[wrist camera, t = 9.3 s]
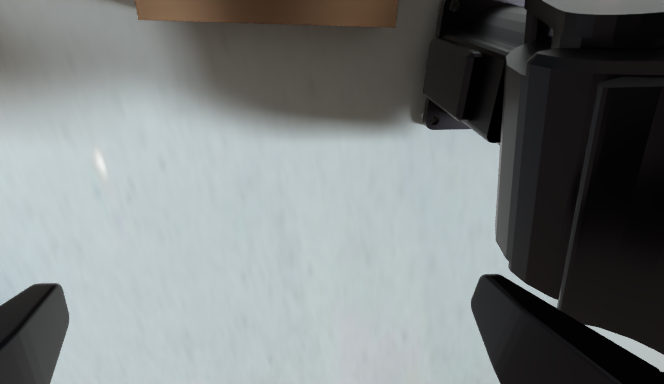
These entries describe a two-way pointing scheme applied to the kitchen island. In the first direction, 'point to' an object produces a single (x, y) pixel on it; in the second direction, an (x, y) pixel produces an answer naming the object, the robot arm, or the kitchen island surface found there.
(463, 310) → the kitchen island surface
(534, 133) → the robot arm
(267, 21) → the walnut base block
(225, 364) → the kitchen island surface
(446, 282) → the kitchen island surface
